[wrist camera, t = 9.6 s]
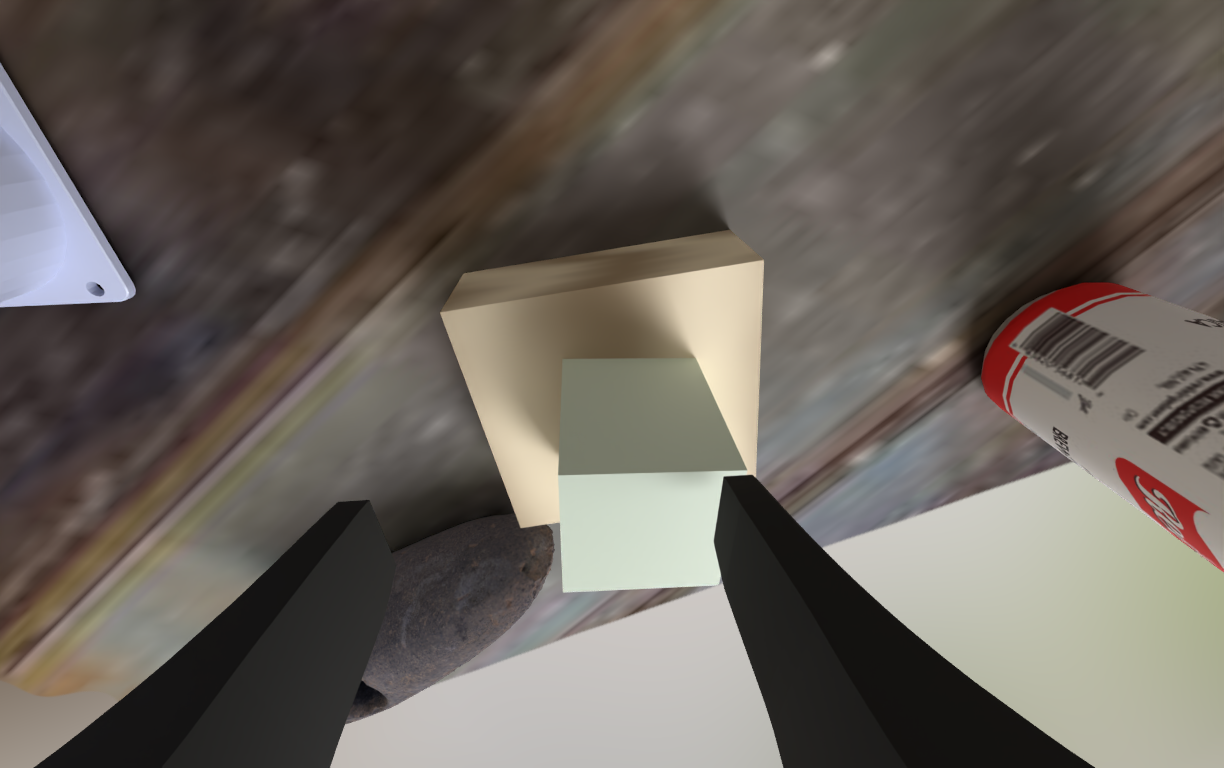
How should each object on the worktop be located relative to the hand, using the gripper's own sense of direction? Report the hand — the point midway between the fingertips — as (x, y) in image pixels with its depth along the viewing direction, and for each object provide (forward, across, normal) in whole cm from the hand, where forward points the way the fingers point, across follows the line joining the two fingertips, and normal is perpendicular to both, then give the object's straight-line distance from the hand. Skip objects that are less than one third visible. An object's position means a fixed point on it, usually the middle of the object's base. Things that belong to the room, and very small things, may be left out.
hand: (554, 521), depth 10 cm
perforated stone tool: (+11, +8, +14) cm, 19 cm away
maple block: (+11, -2, +2) cm, 11 cm away
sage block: (+7, -2, +2) cm, 7 cm away
